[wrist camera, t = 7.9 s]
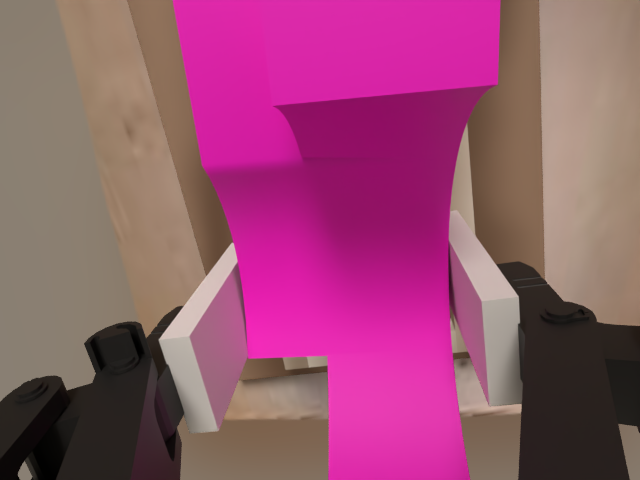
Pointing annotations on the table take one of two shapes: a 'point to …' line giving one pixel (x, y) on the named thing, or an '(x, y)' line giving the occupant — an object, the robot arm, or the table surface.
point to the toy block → (347, 200)
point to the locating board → (470, 172)
